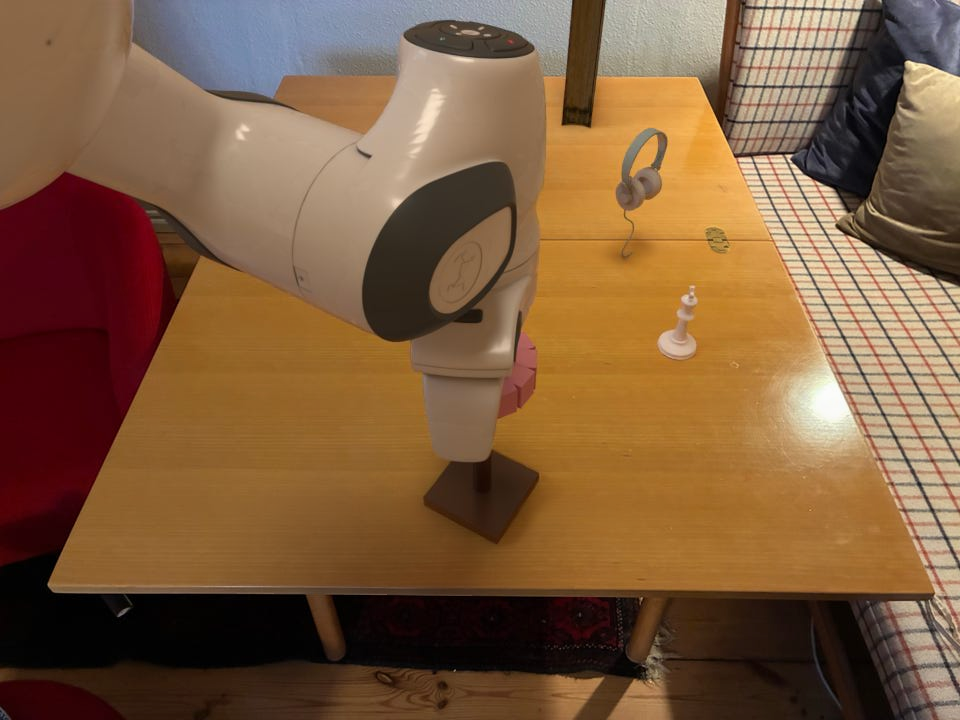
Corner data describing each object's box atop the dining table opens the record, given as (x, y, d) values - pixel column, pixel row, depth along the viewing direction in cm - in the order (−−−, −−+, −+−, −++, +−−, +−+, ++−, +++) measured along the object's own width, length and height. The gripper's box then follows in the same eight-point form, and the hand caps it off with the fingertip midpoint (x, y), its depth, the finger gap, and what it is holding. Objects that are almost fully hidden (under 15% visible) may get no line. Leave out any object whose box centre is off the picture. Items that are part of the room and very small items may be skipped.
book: (567, 88, 141) (579, -49, 123) (594, 90, 140) (610, -48, 122) (561, 127, 130) (573, -17, 112) (590, 129, 129) (607, -16, 111)
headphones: (619, 275, 100) (642, 149, 85) (597, 263, 102) (616, 137, 87) (654, 250, 104) (681, 125, 89) (632, 239, 106) (656, 115, 91)
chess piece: (695, 335, 91) (713, 276, 84) (696, 362, 88) (715, 302, 81) (657, 331, 92) (671, 271, 84) (657, 357, 88) (672, 298, 81)
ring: (534, 423, 58) (536, 401, 56) (418, 418, 58) (415, 396, 56) (536, 342, 65) (537, 319, 63) (431, 337, 65) (430, 315, 63)
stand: (496, 544, 70) (498, 467, 61) (423, 504, 74) (414, 425, 64) (538, 480, 76) (546, 400, 66) (468, 446, 79) (466, 364, 69)
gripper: (446, 185, 55) (452, 314, 65) (404, 375, 41) (420, 502, 51) (525, 188, 55) (519, 317, 65) (511, 381, 40) (506, 508, 50)
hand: (475, 400), depth 58 cm, fingers closed on ring, 2 cm apart
